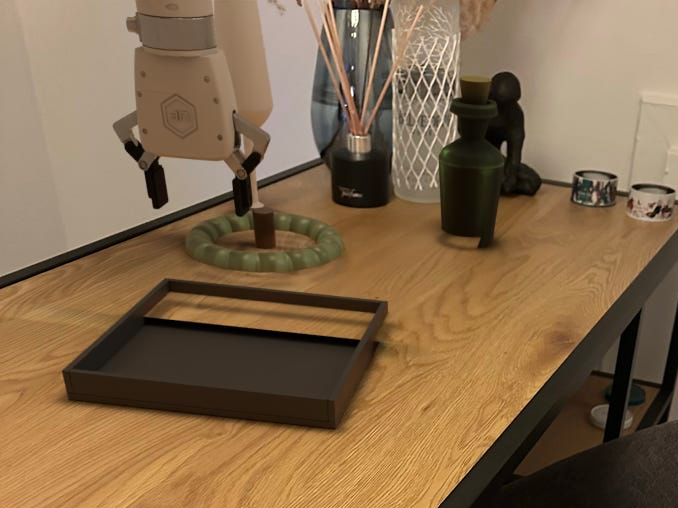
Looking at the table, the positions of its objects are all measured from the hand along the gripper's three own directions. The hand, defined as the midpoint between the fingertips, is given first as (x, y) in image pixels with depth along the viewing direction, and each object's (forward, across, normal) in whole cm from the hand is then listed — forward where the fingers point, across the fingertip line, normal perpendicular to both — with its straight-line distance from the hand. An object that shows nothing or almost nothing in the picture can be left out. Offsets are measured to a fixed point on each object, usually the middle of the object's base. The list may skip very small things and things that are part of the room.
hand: (202, 209), depth 107 cm
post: (+5, +7, 0) cm, 9 cm away
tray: (+4, +13, -28) cm, 32 cm away
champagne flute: (+5, +1, +15) cm, 15 cm away
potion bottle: (+5, +29, +14) cm, 33 cm away
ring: (+3, +7, 0) cm, 8 cm away
